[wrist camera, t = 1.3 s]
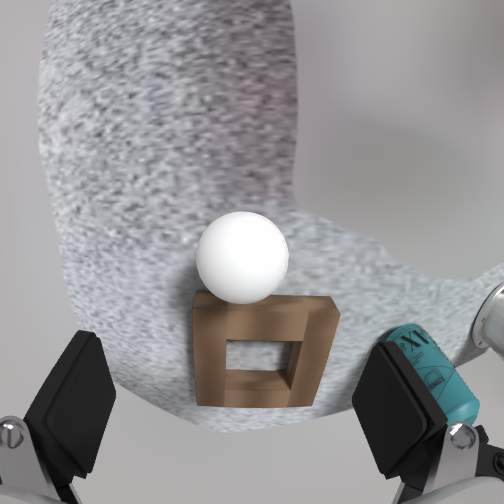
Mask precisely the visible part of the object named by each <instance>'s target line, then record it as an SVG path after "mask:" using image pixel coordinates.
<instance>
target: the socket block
mask: <svg viewBox="0 0 504 504" xmlns="http://www.w3.org/2000/svg"><path fill="white" fill-rule="evenodd" d="M339 317H340V312H339V310H338V309H337V307H336V305H335V304H334V302H333V300H332V298H331V297H330V296H292V295H269V296H268V297H266V298H264V299H262V300H260V301H257V302H254V303H249V304H236V303H231V302H227V301H224V300H222V299H220V298H218V297H217V296H215V295H214V294H213V293H212V292H207V291H197V292H196V295H195V299H194V303H193V307H192V322H193V349H194V368H195V384H196V398H197V405H199V406H213V407H235V408H284V407H306V406H312V404H313V402H314V399H315V396H316V393H317V390H318V387H319V384H320V381H321V378H322V375H323V372H324V369H325V366H326V362H327V359H328V356H329V353H330V349H331V346H332V342H333V339H334V335H335V332H336V328H337V325H338V321H339ZM227 339H232V340H259V341H293V342H292V347H291V352H290V357H289V361H288V366H287V371H257V370H227V369H225V367H226V341H227Z"/></svg>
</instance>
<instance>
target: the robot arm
mask: <svg viewBox="0 0 504 504" xmlns="http://www.w3.org/2000/svg"><path fill="white" fill-rule="evenodd" d="M472 338H473V342H474V344H475V345H476V346H477V347H479V348H486V347H489V346H490V347H491V348H492V349H493V350H494V351H495V352H496V353H497V354H498V355H499V356H500V358H501V359H502V360H503V361H504V283H502V284H501V285H500V286H498V287H497V288H496V289H495V290H494V291H493V292H492V293H491V295H490V296H489V297H488V299H487V300H486V302H485V303H484V305H483V306H482V308H481V310H480V312H479V314H478V316H477V318H476V321H475V324H474V328H473V334H472ZM115 399H116V390H115V387H114V384H113V381H112V378H111V375H110V372H109V368H108V365H107V362H106V358H105V355H104V351H103V347H102V343H101V340H100V338H99V337H96V334H95V333H94V332H89V331H83V330H78V331H77V332H76V334H75V335H74V337H73V338H72V340H71V341H70V343H69V344H68V346H67V347H66V349H65V350H64V352H63V353H62V355H61V356H60V358H59V359H58V361H57V363H56V364H55V366H54V367H53V369H52V370H51V372H50V374H49V375H48V377H47V378H46V380H45V382H44V383H43V385H42V387H41V388H40V390H39V392H38V394H37V395H36V397H35V399H34V401H33V403H32V404H31V406H30V408H29V410H28V411H27V413H26V415H25V417H24V419H23V420H22V419H20V418H18V417H16V416H6V417H3V418H1V419H0V504H82V502H81V500H80V498H79V497H78V495H77V493H76V491H75V489H74V487H73V485H72V480H73V477H74V475H75V476H78V477H81V478H84V479H86V476H87V473H91V472H92V469H93V466H94V463H95V460H96V456H97V453H98V449H99V446H100V443H101V440H102V437H103V434H104V431H105V428H106V425H107V422H108V419H109V416H110V413H111V410H112V407H113V404H114V402H115ZM352 404H353V407H354V410H355V412H356V414H357V417H358V419H359V422H360V424H361V427H362V429H363V431H364V434H365V436H366V439H367V441H368V444H369V446H370V449H371V451H372V454H373V456H374V459H375V462H376V464H377V466H378V469H379V471H380V473H381V474H384V475H385V478H386V480H387V479H390V478H393V477H397V476H400V478H401V480H402V481H401V483H400V486H399V488H398V490H397V493H396V495H395V498H394V500H393V502H392V504H504V449H501V448H498V447H494V446H492V445H488V444H485V443H482V442H479V435H478V433H477V430H476V429H475V428H474V427H473V426H472V425H471V424H469V423H467V422H465V421H455V422H453V423H451V424H450V425H449V426H448V425H447V422H448V418H447V417H446V415H445V414H444V412H443V410H442V409H441V407H440V406H439V404H438V403H437V401H436V400H435V398H434V397H433V395H432V394H431V392H430V391H429V389H428V388H427V386H426V385H425V383H424V382H423V380H422V379H421V377H420V376H419V374H418V373H417V372H416V370H415V369H414V367H413V366H412V364H411V363H410V362H409V360H408V359H407V357H406V356H405V355H404V353H403V352H402V350H401V349H400V348H399V346H398V345H397V343H396V342H395V341H384V342H379V343H378V344H377V345H376V346H375V347H373V349H372V351H371V354H370V356H369V359H368V361H367V364H366V366H365V369H364V371H363V373H362V376H361V378H360V380H359V383H358V385H357V387H356V389H355V392H354V394H353V396H352Z"/></svg>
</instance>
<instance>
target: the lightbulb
mask: <svg viewBox="0 0 504 504" xmlns="http://www.w3.org/2000/svg"><path fill="white" fill-rule="evenodd" d="M196 264H197V269H198V272H199V275H200V278H201V279H202V281H203V283H204V284H205V286H206V287H207V288H208V289H209V290H210V292H212V293H213V294H214V295H215V296H217V297H218V298H220V299H222V300H224V301H227V302H231V303H236V304H249V303H254V302H257V301H260V300H262V299H264V298H266V297H268V296H269V295H271V294H272V293H273V292H274V291H275V290H276V289H277V288H278V286H279V285H280V284H281V282H282V280H283V278H284V276H285V274H286V271H287V267H288V248H287V244H286V241H285V239H284V237H283V235H282V233H281V232H280V230H279V229H278V227H277V226H276V225H274V224H273V223H272V222H271V221H270V220H268V219H267V218H265V217H263V216H261V215H258V214H255V213H251V212H234V213H230V214H226V215H224V216H222V217H219V218H218V219H216V220H215V221H214V222H212V223H211V224H210V225H209V226H208V227H207V228H206V229H205V231H204V232H203V234H202V236H201V237H200V240H199V243H198V246H197V250H196Z"/></svg>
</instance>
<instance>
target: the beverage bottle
mask: <svg viewBox="0 0 504 504" xmlns="http://www.w3.org/2000/svg"><path fill="white" fill-rule="evenodd" d="M423 329H424V328H423ZM423 329H422V326H421V327H420V326H419V325H416V324H406V325H403V326H401V327H399V328H398V329H396V330H395V331H394V332H393V333H391V334H390V336H389V337H388V338H387V340H386V341H395V342H396V343H397V345H398V346H399V348H400V349H401V350H402V352H403V353H404V355H405V356H406V357H407V359H408V360H409V362H410V363H411V364H412V366H413V367H414V369H415V370H416V372H417V373H418V374H419V376H420V377H421V379H422V380H423V382H424V383H425V385H426V386H427V388H428V389H429V391H430V392H431V394H432V395H433V397H434V398H435V400H436V401H437V403H438V404H439V406H440V407H441V409H442V410H443V412H444V414H445V415H446V417H447V418H448V422H447V425H448V426H449V425H450V424H451V423H453V422H455V421H465V422H467V423H469V424H471V425H472V424H473V423H474V421H475V420H476V418H477V414H478V410H479V406H480V403H479V400H478V399H477V398H476V397H475V396H474V395H473V393H472V392H471V390H470V389H469V387H468V386H467V385H466V383H465V382H464V381H463V379H462V378H461V377H460V375H459V374H458V373H457V371H456V369H455V366H454V367H453V365H452V364H451V362H449V360H448V359H447V358H446V357H445V356H446V355H444V352H443V353H442V350H440V347H439V348H438V346H437V345H436V344H435V343H436V342H435V341H434V340H432V339H431V338H432V337H431V336H430V335H429V334H428V333H426V332H425V330H423ZM427 334H428V335H429V336H428V335H427ZM430 337H431V338H430ZM433 341H434V342H435V343H434V342H433ZM475 429H476V430H477V433H478V435H479V442H482V443H485V444H487V443H488V441H489V439H488V436H487V434H486V432H485V430H484V428H483V426H482V425H479V426H477V427H475Z"/></svg>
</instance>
